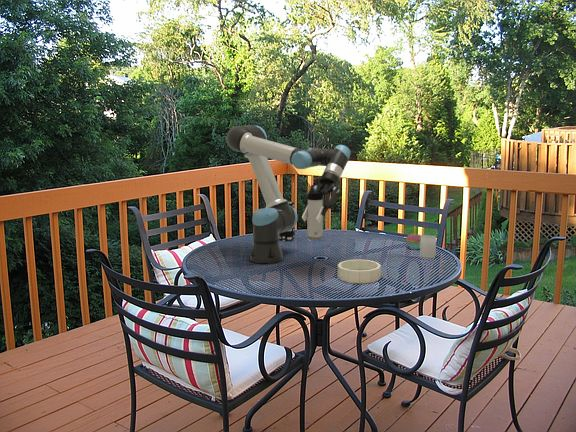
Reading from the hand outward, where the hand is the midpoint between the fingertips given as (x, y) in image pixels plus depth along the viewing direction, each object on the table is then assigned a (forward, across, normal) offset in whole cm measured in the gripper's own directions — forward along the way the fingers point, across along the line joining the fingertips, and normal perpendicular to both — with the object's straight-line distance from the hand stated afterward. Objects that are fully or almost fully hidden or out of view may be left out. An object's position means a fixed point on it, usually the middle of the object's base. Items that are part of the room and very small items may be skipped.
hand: (310, 220), depth 223 cm
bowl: (+11, -19, -21) cm, 31 cm away
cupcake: (-28, -20, -61) cm, 70 cm away
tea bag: (-20, -31, -53) cm, 64 cm away
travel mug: (+4, 0, -9) cm, 9 cm away
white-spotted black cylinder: (-15, +45, -49) cm, 68 cm away
